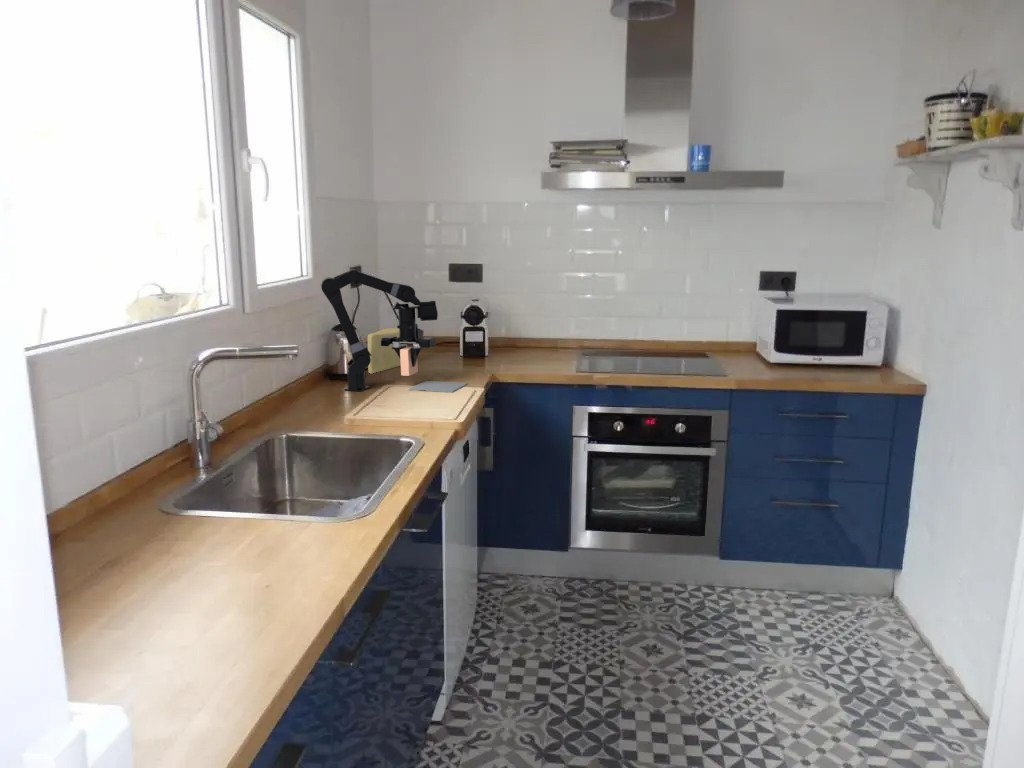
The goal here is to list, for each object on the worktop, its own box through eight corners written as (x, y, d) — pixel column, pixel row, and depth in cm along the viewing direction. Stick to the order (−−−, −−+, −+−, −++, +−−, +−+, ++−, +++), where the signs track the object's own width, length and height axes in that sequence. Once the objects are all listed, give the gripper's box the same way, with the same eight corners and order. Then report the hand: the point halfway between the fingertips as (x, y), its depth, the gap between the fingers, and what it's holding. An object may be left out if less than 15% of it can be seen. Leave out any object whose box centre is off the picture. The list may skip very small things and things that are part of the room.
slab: (409, 375, 259) (407, 349, 257) (401, 375, 260) (399, 349, 258) (417, 371, 265) (416, 346, 264) (410, 371, 266) (408, 346, 264)
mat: (452, 392, 251) (452, 391, 251) (408, 390, 256) (408, 389, 256) (467, 384, 264) (467, 383, 264) (425, 382, 269) (425, 381, 269)
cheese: (381, 374, 284) (379, 335, 281) (358, 373, 288) (356, 334, 285) (408, 364, 305) (407, 327, 302) (387, 363, 308) (385, 326, 305)
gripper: (441, 319, 263) (443, 363, 267) (393, 318, 269) (395, 361, 272) (428, 323, 253) (430, 369, 256) (378, 322, 259) (381, 366, 262)
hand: (409, 366), depth 262 cm, fingers closed on slab, 3 cm apart
